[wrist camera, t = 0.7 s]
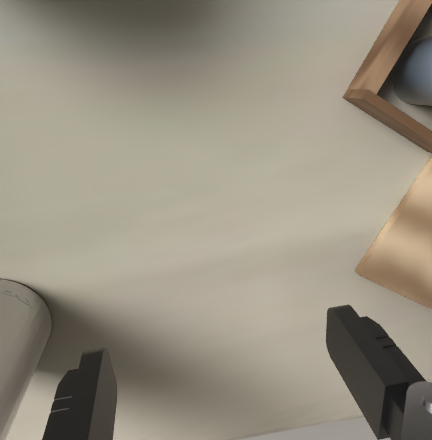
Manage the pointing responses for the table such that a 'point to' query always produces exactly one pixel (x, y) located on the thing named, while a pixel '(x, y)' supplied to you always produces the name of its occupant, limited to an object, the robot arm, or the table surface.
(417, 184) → the wooden board
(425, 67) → the cylinder
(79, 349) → the table surface
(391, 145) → the table surface
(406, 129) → the holder
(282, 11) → the table surface
